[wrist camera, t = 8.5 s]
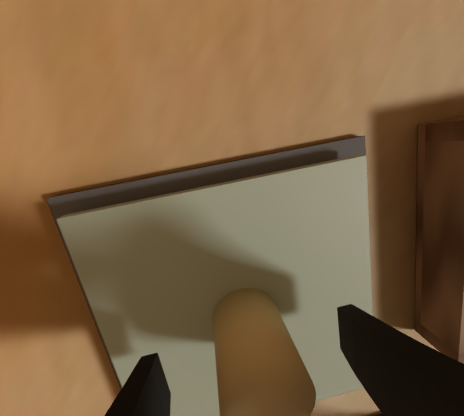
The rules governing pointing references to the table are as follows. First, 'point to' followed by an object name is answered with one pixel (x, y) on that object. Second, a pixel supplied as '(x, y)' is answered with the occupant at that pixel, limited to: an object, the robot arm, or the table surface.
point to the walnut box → (440, 236)
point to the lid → (233, 286)
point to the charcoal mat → (197, 183)
